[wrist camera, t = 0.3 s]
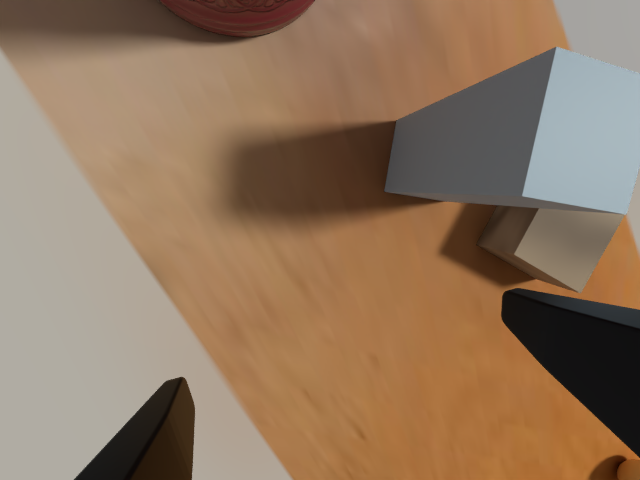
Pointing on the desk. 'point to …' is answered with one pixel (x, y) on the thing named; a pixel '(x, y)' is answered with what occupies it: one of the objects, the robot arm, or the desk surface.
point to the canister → (239, 14)
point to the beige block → (550, 242)
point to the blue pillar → (527, 139)
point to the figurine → (629, 470)
